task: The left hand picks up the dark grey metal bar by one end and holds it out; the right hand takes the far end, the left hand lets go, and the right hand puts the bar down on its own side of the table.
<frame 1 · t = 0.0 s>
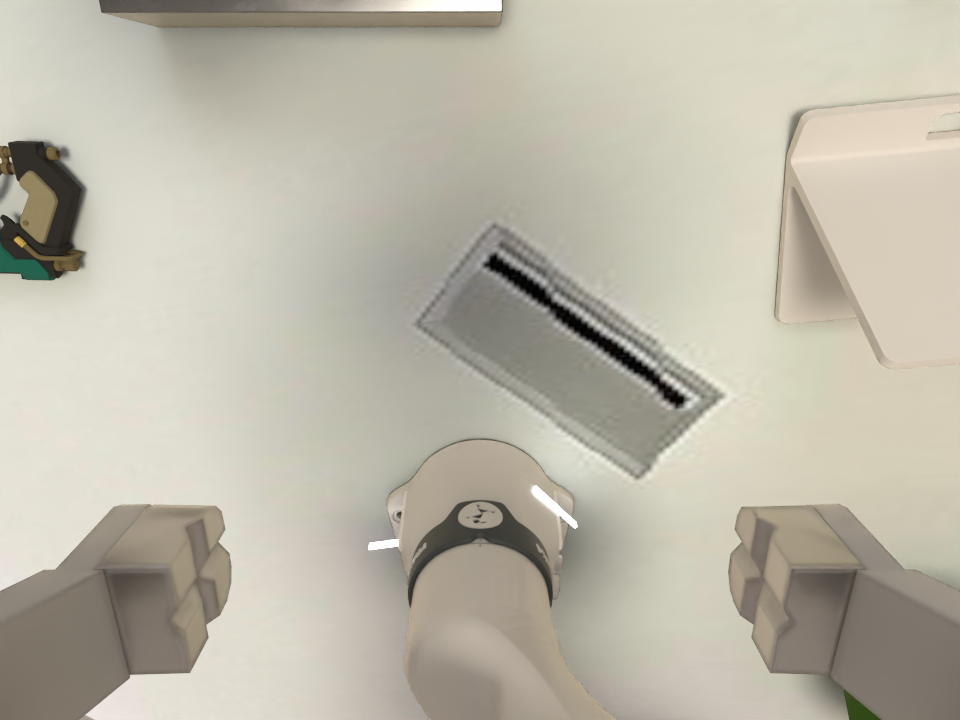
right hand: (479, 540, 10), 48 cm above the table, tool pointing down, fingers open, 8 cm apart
vase: (884, 631, 72), on the table
tablet stand: (928, 208, 56), on the table
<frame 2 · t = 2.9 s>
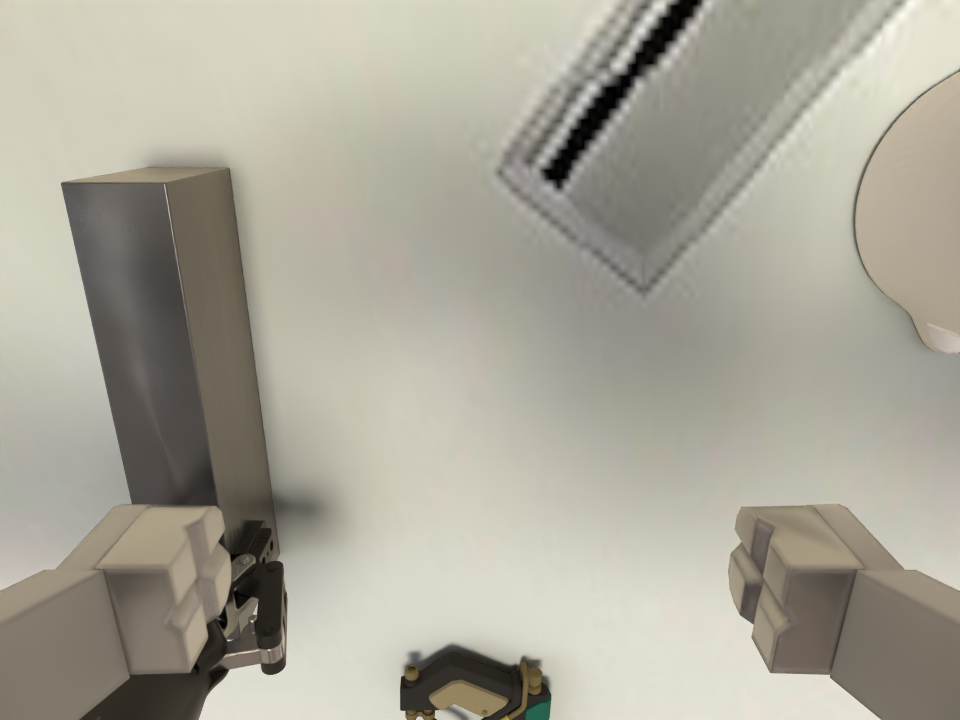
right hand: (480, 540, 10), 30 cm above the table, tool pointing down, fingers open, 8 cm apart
bar: (220, 383, 42), on the table, touching left hand
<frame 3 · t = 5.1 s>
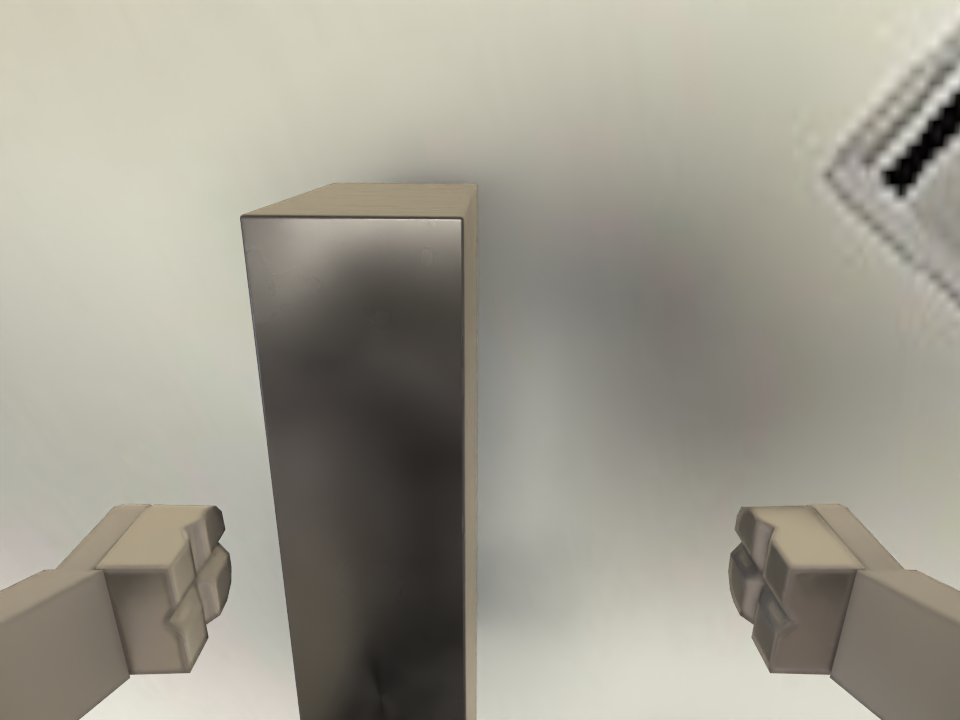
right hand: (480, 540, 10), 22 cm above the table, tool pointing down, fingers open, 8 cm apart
bar: (416, 529, 26), point 9 cm above the table, touching left hand
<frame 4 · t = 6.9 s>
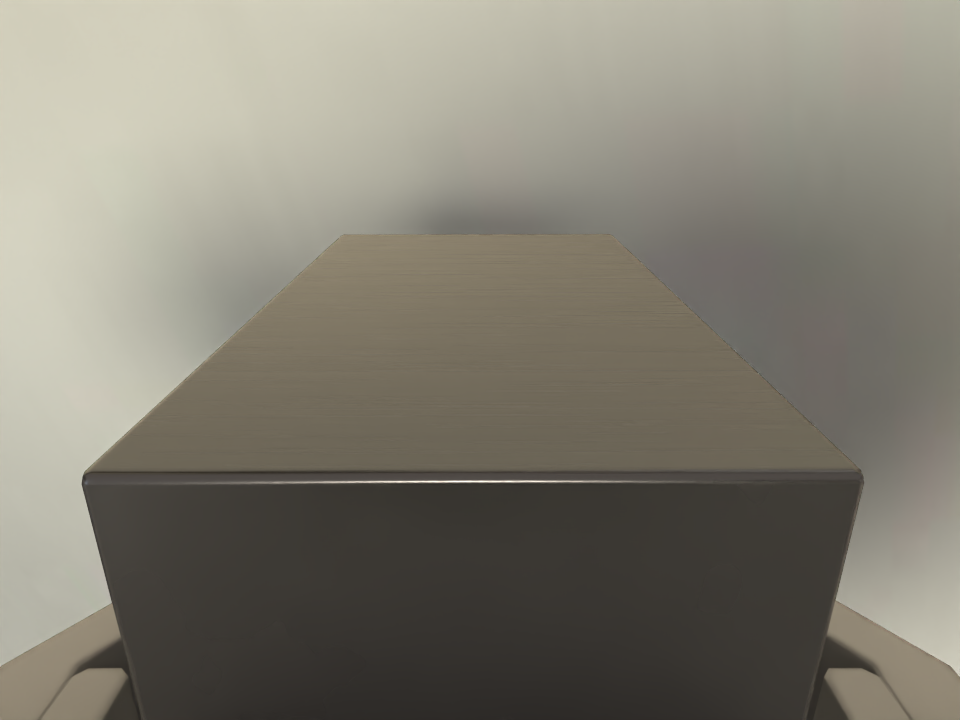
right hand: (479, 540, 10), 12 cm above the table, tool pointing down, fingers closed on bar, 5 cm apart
when the left hand's fingers open (13 cm above the table, at t = 7.8 s): bar stays where it is, held by the right hand.
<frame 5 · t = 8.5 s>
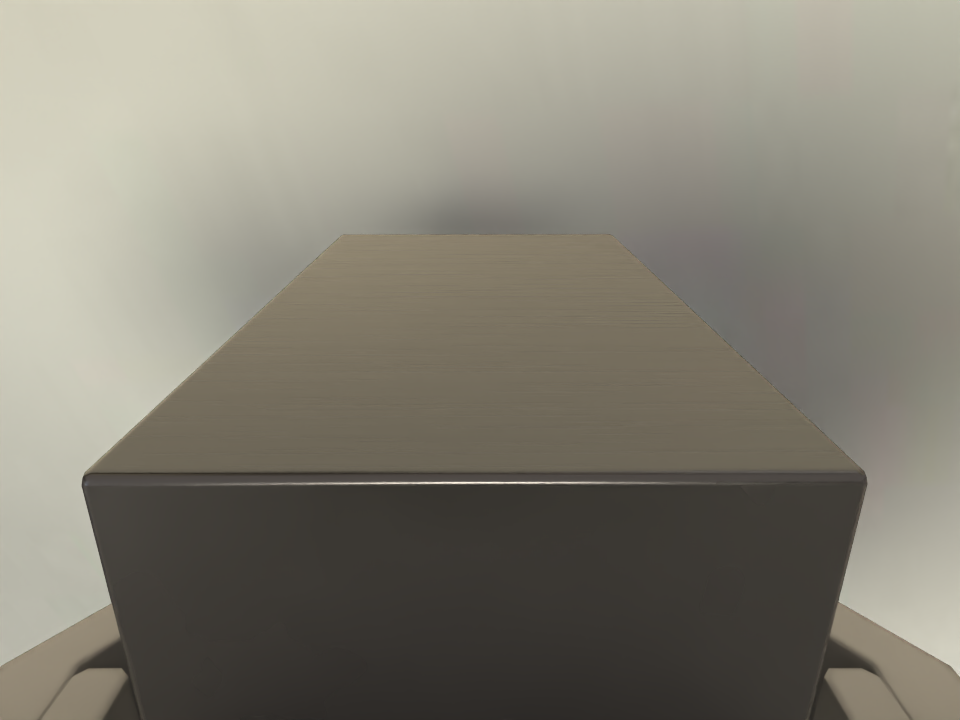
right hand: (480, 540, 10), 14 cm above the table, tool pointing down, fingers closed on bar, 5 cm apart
when the right hand's fingers open (5 cm above the table, at t = 14.8 s): bar drops 1 cm, on the table.
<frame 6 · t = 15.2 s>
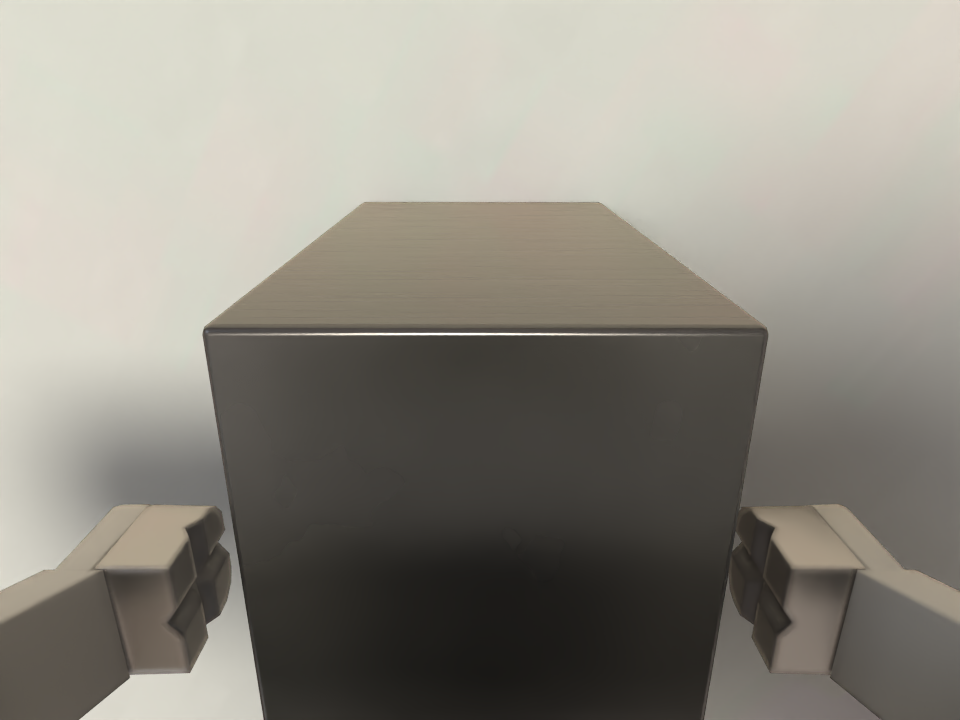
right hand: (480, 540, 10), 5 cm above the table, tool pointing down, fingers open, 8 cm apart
bar: (480, 702, 18), on the table
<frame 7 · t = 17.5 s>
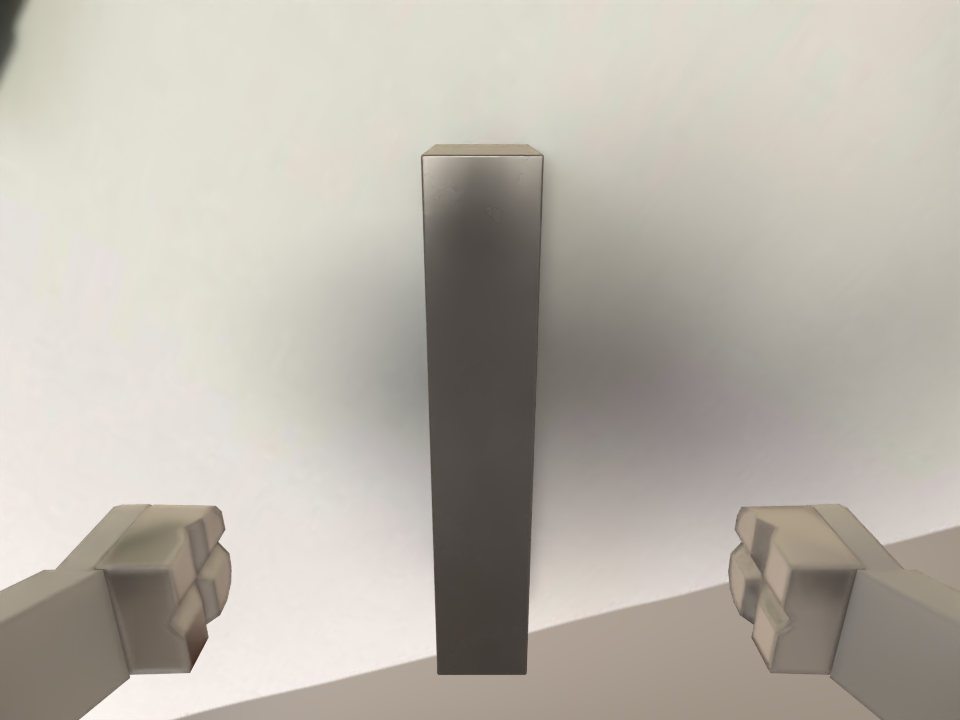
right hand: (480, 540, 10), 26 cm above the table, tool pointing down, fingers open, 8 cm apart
bar: (481, 387, 38), on the table
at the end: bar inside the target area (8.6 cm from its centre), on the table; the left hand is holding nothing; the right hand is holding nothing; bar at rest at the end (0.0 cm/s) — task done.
